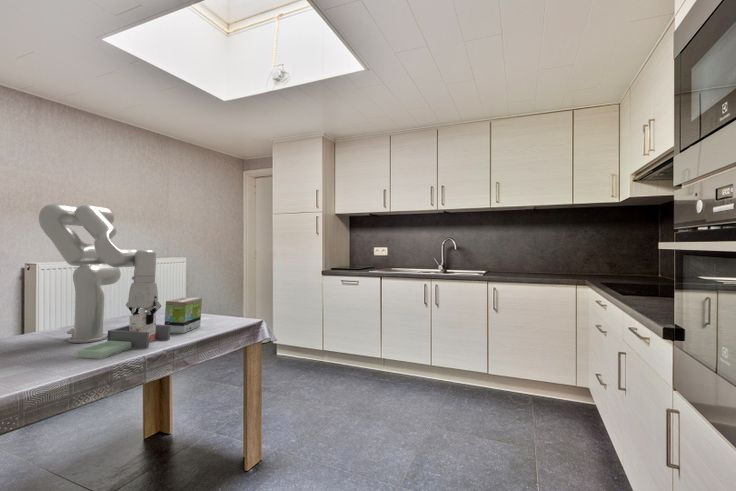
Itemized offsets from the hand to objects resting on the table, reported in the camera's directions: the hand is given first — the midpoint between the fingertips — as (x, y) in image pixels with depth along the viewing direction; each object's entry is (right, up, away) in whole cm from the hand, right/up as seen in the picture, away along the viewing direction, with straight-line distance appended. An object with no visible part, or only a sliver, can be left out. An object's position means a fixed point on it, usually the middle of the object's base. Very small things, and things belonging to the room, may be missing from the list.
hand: (142, 323), depth 141 cm
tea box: (+4, -9, +24) cm, 25 cm away
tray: (-5, -8, -14) cm, 17 cm away
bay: (-1, -8, 0) cm, 8 cm away
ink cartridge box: (0, -8, 0) cm, 8 cm away
